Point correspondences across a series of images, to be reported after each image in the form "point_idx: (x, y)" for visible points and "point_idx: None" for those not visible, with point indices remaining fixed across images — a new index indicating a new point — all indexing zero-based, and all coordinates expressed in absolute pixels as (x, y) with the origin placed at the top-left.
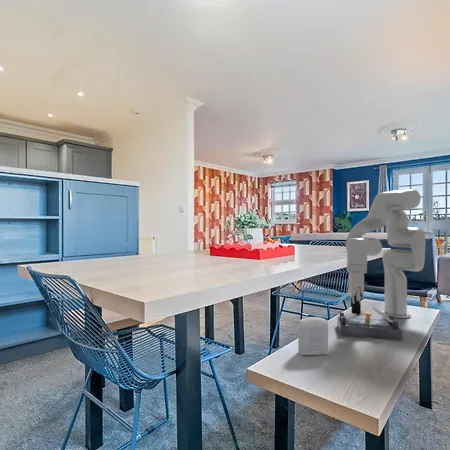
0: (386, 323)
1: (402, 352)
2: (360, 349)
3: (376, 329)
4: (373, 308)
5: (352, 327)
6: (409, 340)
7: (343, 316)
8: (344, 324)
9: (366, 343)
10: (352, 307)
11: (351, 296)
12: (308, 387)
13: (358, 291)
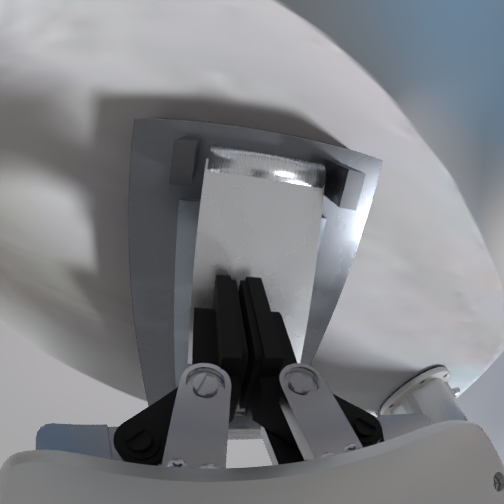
0: None
1: (42, 334)
2: (3, 196)
3: (137, 337)
4: (258, 431)
5: (131, 209)
6: None
7: (303, 187)
8: (166, 156)
9: (68, 240)
10: (217, 320)
11: (14, 454)
12: None
13: None
